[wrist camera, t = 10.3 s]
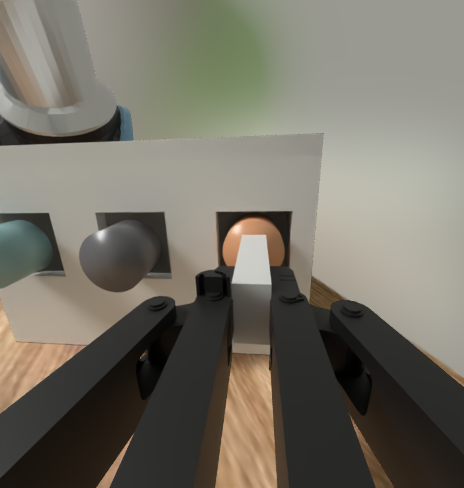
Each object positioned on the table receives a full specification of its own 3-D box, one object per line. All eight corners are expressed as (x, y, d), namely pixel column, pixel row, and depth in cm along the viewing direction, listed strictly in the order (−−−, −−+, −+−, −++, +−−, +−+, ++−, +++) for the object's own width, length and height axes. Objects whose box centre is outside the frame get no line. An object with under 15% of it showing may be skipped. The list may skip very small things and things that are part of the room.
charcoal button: (87, 291, 15) (72, 230, 14) (113, 271, 18) (103, 219, 17) (147, 293, 15) (137, 230, 14) (164, 272, 18) (158, 219, 17)
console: (16, 341, 22) (-57, 148, 16) (78, 295, 29) (42, 152, 24) (304, 356, 19) (323, 133, 14) (291, 301, 26) (300, 143, 21)
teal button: (-31, 288, 16) (-56, 230, 15) (11, 269, 19) (-6, 220, 18) (22, 289, 16) (3, 230, 15) (58, 270, 19) (44, 219, 17)
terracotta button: (223, 279, 16) (221, 222, 15) (228, 262, 19) (227, 212, 18) (283, 280, 16) (286, 221, 15) (279, 263, 19) (281, 212, 18)
